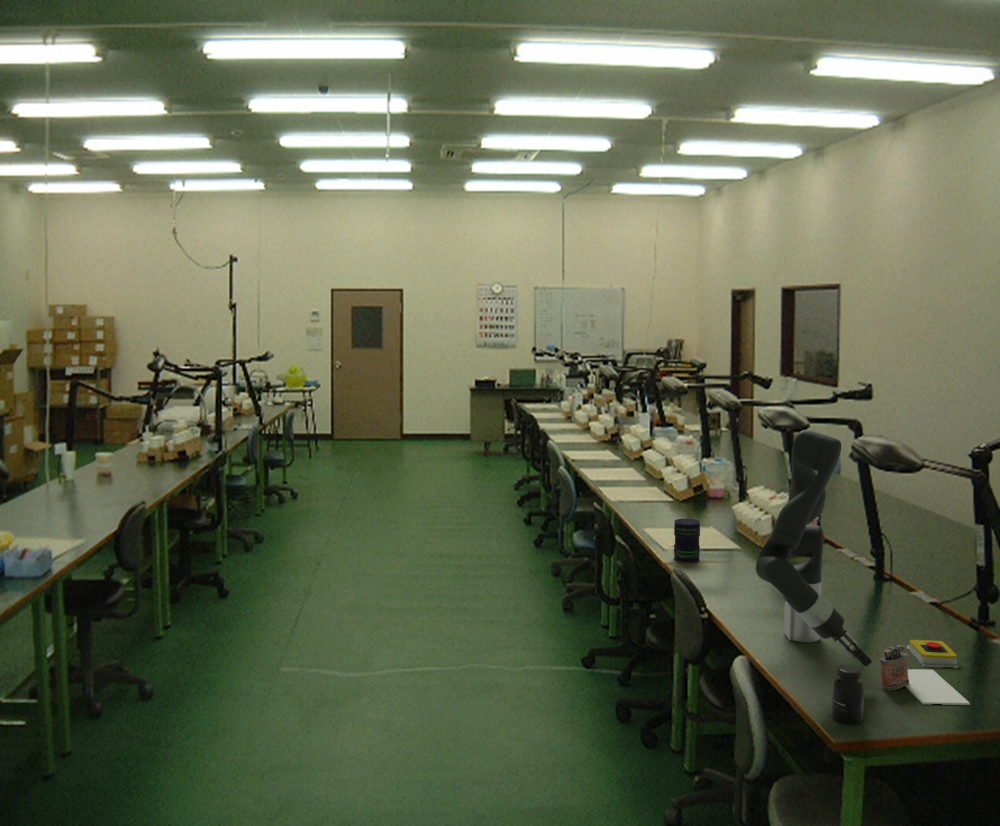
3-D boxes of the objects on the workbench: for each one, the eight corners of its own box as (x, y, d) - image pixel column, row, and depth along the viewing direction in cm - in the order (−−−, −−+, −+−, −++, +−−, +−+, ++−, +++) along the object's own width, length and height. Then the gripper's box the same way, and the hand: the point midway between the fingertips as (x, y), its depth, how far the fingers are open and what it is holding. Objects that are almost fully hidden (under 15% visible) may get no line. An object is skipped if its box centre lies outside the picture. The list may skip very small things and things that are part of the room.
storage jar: (699, 556, 340) (700, 519, 338) (699, 563, 330) (700, 524, 329) (674, 555, 342) (674, 518, 340) (673, 562, 332) (673, 523, 331)
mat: (922, 704, 208) (922, 702, 208) (889, 670, 228) (889, 669, 228) (969, 705, 208) (969, 703, 208) (932, 671, 227) (932, 669, 227)
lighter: (889, 691, 215) (887, 652, 214) (878, 687, 218) (876, 648, 217) (912, 683, 218) (911, 645, 217) (901, 679, 221) (899, 641, 220)
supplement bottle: (831, 722, 199) (832, 672, 198) (831, 709, 206) (832, 661, 204) (863, 727, 197) (865, 676, 196) (862, 714, 203) (864, 664, 202)
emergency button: (923, 652, 230) (905, 632, 245) (923, 668, 231) (905, 647, 246) (961, 654, 229) (940, 633, 244) (960, 670, 229) (939, 649, 244)
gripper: (840, 613, 210) (889, 663, 211) (822, 596, 223) (869, 643, 224) (817, 634, 211) (866, 684, 212) (801, 616, 224) (847, 663, 225)
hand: (868, 663), depth 218 cm, fingers closed
